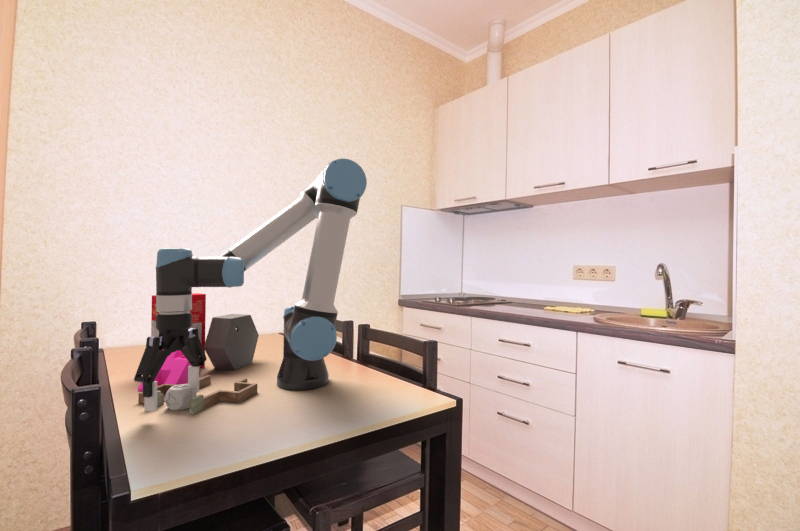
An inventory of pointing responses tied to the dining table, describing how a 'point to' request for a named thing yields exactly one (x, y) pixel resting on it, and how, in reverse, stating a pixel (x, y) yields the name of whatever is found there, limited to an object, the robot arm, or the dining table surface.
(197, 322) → the food packaging
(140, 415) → the dining table surface
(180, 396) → the die
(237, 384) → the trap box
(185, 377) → the bracket
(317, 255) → the robot arm
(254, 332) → the planter
